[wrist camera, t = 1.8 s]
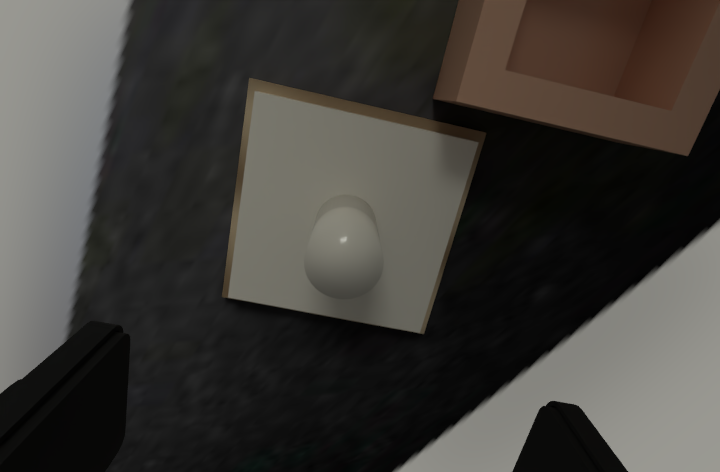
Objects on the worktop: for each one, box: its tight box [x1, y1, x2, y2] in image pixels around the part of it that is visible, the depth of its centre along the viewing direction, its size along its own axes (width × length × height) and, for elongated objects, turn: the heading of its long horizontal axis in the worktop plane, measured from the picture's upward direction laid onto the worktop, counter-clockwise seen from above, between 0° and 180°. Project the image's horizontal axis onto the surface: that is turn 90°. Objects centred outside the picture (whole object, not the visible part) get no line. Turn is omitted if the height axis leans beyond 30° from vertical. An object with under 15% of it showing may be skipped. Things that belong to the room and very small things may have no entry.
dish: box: [433, 0, 720, 156], centre depth 17 cm, size 10×10×5 cm
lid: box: [228, 91, 479, 333], centre depth 20 cm, size 11×11×6 cm
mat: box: [222, 78, 486, 334], centre depth 23 cm, size 12×12×1 cm
